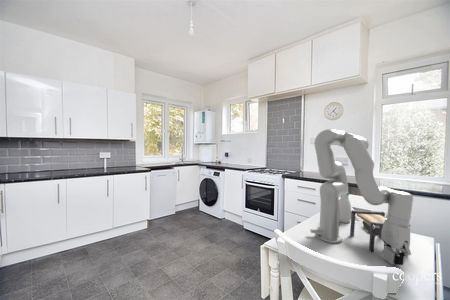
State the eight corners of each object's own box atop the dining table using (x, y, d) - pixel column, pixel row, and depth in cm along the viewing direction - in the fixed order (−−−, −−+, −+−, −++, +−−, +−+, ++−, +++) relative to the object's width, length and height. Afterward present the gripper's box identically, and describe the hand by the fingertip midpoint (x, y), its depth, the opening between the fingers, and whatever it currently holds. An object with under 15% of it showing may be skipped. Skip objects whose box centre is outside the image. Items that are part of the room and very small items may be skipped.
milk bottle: (351, 224, 129) (353, 194, 128) (337, 222, 132) (339, 192, 131) (348, 219, 136) (350, 191, 135) (336, 218, 139) (337, 190, 138)
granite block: (391, 264, 84) (392, 252, 84) (382, 256, 89) (383, 246, 89) (403, 265, 84) (404, 253, 83) (393, 257, 89) (395, 247, 88)
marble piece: (402, 240, 110) (403, 233, 110) (372, 236, 113) (373, 229, 113) (385, 227, 126) (386, 221, 126) (359, 224, 129) (360, 218, 129)
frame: (370, 252, 96) (372, 223, 95) (350, 235, 113) (351, 210, 113) (408, 254, 95) (410, 224, 94) (381, 236, 112) (383, 211, 112)
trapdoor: (372, 225, 97) (373, 219, 97) (356, 215, 110) (357, 210, 110) (406, 227, 97) (406, 221, 97) (386, 217, 110) (386, 212, 110)
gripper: (375, 211, 94) (370, 248, 95) (406, 228, 77) (400, 272, 78) (391, 212, 93) (386, 249, 95) (426, 230, 76) (419, 274, 78)
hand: (392, 259), depth 86 cm, fingers closed on granite block, 5 cm apart
